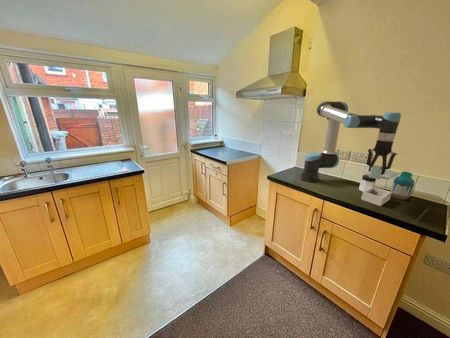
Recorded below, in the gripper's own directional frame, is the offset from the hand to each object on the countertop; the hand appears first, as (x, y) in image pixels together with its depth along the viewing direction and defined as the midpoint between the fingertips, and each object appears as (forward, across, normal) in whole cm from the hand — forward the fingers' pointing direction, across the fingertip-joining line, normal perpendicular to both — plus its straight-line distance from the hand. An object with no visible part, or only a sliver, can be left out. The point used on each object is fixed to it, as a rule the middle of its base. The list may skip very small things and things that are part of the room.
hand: (374, 177), depth 117 cm
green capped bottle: (+19, +8, +30) cm, 37 cm away
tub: (+19, 0, +12) cm, 23 cm away
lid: (+1, 0, +9) cm, 9 cm away
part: (+18, -2, +16) cm, 25 cm away
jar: (+19, -10, +24) cm, 32 cm away
